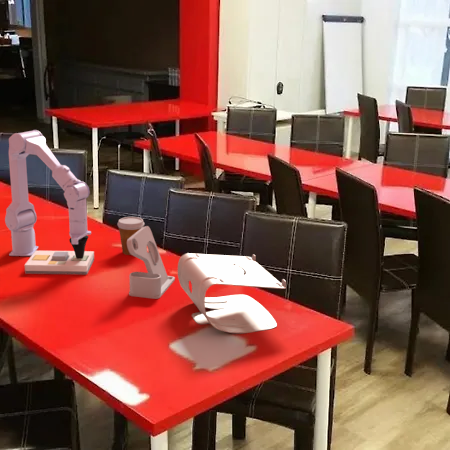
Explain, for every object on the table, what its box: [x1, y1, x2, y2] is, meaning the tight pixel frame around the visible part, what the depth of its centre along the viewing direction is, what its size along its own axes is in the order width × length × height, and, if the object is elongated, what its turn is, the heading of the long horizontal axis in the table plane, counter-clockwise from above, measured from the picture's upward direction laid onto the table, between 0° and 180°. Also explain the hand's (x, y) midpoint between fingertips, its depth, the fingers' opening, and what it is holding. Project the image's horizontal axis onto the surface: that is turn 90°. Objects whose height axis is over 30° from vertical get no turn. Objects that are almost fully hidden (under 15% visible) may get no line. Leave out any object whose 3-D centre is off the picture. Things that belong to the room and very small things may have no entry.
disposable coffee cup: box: [117, 216, 145, 256], centre depth 231 cm, size 10×10×12 cm
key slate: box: [52, 252, 68, 261], centre depth 216 cm, size 4×4×2 cm
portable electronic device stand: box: [177, 252, 287, 334], centre depth 182 cm, size 26×24×16 cm
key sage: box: [72, 255, 88, 261], centre depth 217 cm, size 4×4×2 cm
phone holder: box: [127, 225, 176, 300], centre depth 200 cm, size 17×10×18 cm, turn 167°
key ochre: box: [32, 255, 49, 261], centre depth 217 cm, size 4×4×2 cm
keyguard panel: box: [24, 250, 95, 275], centre depth 217 cm, size 14×20×3 cm
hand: (79, 257), depth 217 cm, fingers closed, pressing on key sage
